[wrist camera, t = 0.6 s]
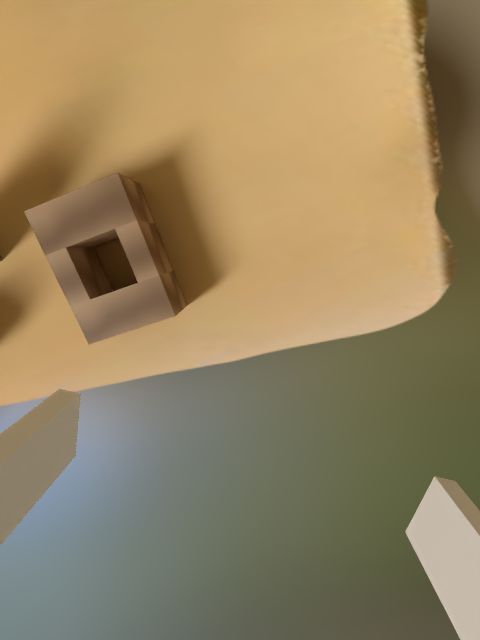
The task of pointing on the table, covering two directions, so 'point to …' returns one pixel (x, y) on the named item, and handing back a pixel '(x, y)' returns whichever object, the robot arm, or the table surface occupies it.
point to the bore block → (85, 267)
